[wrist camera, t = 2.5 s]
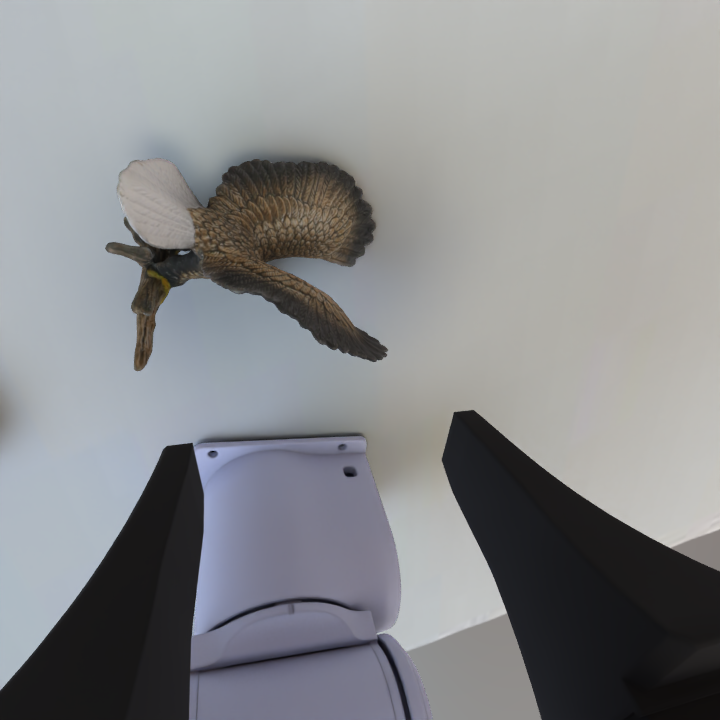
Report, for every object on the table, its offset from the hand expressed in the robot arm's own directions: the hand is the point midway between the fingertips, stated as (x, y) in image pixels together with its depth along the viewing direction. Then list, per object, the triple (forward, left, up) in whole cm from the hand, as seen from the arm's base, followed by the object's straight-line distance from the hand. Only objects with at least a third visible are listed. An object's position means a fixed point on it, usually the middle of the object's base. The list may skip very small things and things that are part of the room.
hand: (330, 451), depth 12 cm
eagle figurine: (+2, -3, -10) cm, 10 cm away
